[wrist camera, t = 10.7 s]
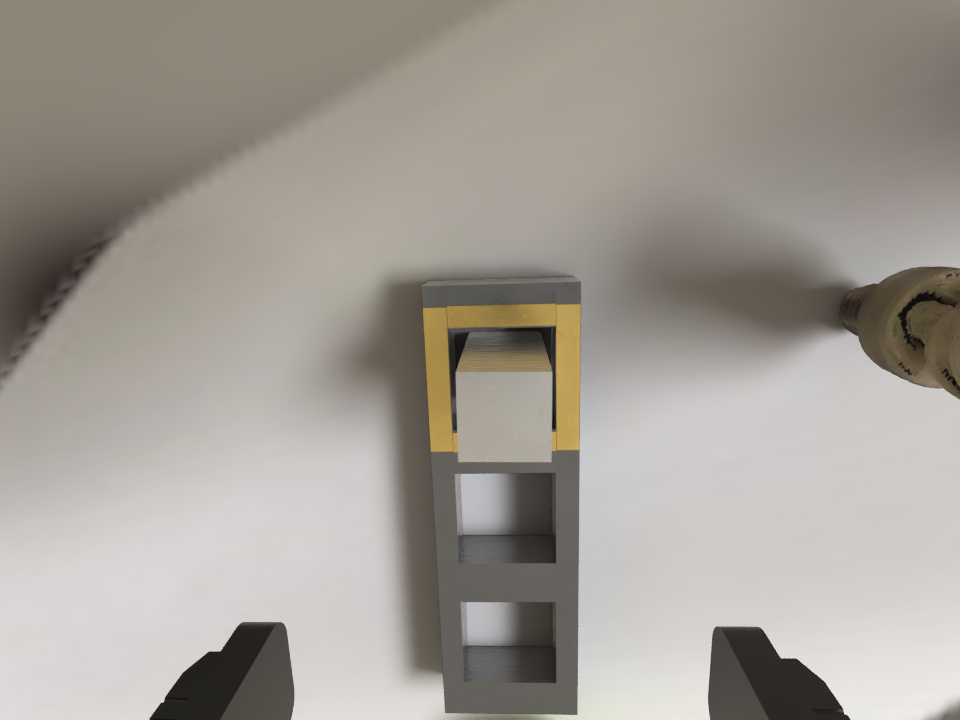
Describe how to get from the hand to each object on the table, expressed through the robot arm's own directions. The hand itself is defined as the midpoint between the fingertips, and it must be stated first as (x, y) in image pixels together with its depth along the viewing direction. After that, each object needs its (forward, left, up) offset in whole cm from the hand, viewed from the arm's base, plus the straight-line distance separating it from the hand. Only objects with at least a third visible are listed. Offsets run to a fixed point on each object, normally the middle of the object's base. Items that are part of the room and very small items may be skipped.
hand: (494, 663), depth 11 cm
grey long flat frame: (0, +8, -23) cm, 24 cm away
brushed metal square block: (0, 0, -23) cm, 23 cm away
